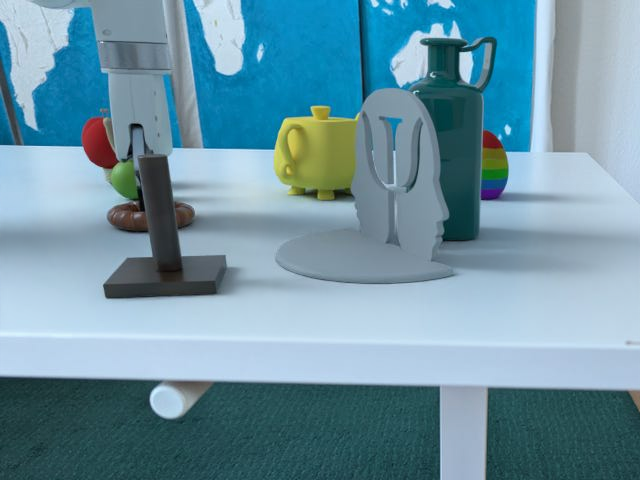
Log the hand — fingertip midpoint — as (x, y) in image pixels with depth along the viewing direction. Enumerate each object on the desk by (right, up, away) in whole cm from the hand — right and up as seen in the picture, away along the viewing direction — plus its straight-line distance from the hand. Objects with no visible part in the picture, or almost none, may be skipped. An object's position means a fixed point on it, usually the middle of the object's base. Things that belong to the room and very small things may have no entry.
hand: (158, 216), depth 89 cm
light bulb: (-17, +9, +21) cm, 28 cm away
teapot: (+17, +8, +21) cm, 29 cm away
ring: (+1, -1, -3) cm, 4 cm away
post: (+12, -11, -24) cm, 29 cm away
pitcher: (+37, -3, -3) cm, 37 cm away
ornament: (+26, -8, -15) cm, 32 cm away
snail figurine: (-9, +5, +12) cm, 15 cm away
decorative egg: (+41, +7, +22) cm, 47 cm away
